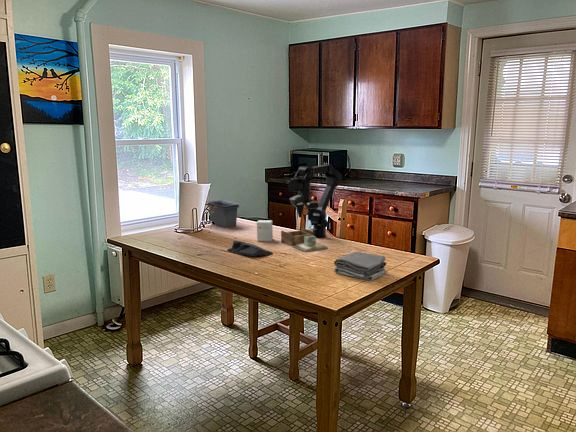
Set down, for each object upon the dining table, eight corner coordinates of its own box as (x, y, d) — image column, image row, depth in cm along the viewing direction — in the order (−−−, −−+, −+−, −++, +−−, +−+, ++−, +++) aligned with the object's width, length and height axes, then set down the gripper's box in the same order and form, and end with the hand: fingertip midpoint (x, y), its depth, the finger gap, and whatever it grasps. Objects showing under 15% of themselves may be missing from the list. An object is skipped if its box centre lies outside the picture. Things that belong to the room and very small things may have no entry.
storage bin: (242, 225, 288) (242, 203, 285) (222, 229, 278) (221, 206, 275) (222, 221, 303) (221, 199, 300) (202, 224, 293) (201, 202, 290)
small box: (272, 238, 255) (272, 220, 253) (271, 241, 249) (271, 222, 247) (258, 238, 255) (258, 220, 253) (256, 241, 250) (256, 222, 248)
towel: (351, 265, 206) (352, 248, 205) (388, 273, 195) (389, 256, 193) (332, 274, 195) (332, 256, 193) (371, 283, 183) (371, 264, 182)
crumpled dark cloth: (249, 260, 215) (249, 250, 214) (225, 250, 232) (224, 241, 231) (275, 254, 225) (275, 245, 224) (250, 245, 242) (250, 237, 241)
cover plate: (313, 243, 243) (313, 233, 242) (324, 247, 234) (324, 237, 233) (295, 245, 237) (295, 235, 236) (305, 250, 229) (306, 239, 228)
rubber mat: (314, 243, 245) (314, 242, 244) (327, 248, 234) (327, 247, 234) (292, 246, 238) (292, 245, 237) (304, 252, 227) (304, 251, 227)
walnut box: (301, 238, 254) (302, 227, 253) (313, 243, 245) (313, 231, 244) (281, 241, 248) (281, 230, 247) (291, 246, 239) (291, 234, 237)
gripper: (283, 189, 250) (283, 217, 253) (301, 193, 234) (301, 223, 237) (300, 187, 255) (300, 215, 258) (319, 191, 240) (319, 221, 243)
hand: (304, 218), depth 249 cm, fingers open, 9 cm apart
